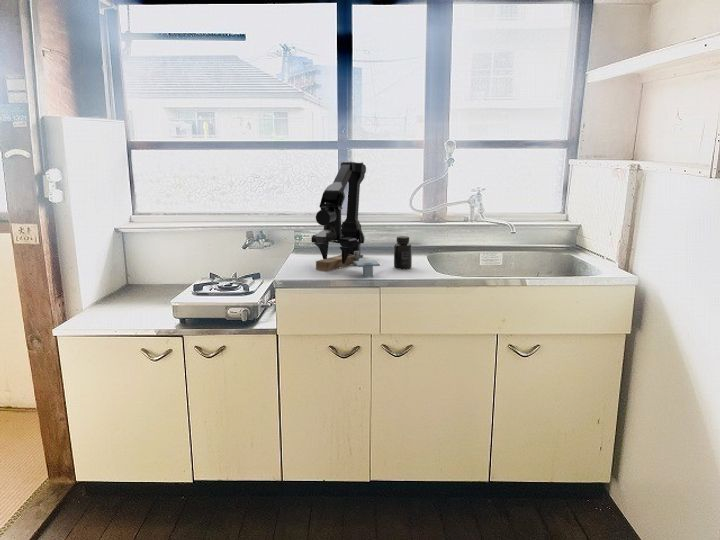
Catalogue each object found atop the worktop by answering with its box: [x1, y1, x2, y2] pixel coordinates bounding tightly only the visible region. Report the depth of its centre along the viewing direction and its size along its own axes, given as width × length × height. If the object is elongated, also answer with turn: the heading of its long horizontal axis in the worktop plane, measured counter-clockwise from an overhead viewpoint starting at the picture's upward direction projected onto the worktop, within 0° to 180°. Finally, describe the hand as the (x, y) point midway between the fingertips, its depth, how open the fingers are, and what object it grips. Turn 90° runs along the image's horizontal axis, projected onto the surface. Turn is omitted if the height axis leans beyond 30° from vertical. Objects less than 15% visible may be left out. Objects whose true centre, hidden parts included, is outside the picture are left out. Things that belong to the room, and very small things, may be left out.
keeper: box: [353, 259, 381, 278], centre depth 191 cm, size 7×8×4 cm
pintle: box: [353, 251, 360, 267], centre depth 207 cm, size 2×2×6 cm
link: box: [315, 254, 354, 272], centre depth 205 cm, size 18×6×3 cm, turn 143°
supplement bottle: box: [393, 235, 413, 270], centre depth 202 cm, size 7×7×12 cm
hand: (334, 262), depth 204 cm, fingers open, 9 cm apart
